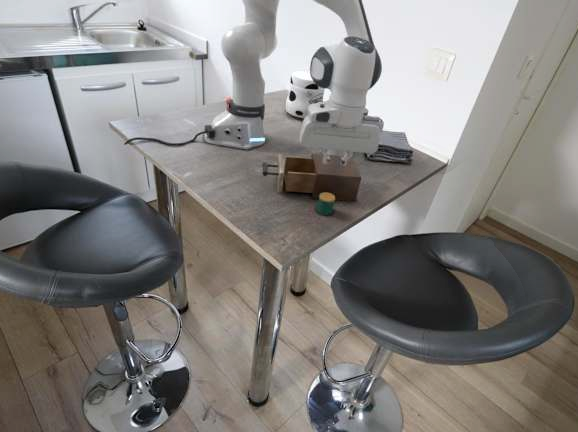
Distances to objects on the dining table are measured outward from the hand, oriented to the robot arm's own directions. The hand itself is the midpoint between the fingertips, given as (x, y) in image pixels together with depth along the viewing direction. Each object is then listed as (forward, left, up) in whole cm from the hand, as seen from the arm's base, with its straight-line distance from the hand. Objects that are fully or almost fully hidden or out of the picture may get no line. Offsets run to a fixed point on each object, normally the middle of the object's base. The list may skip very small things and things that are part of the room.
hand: (334, 164), depth 92 cm
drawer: (-10, +13, -14) cm, 22 cm away
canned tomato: (+22, +61, -15) cm, 67 cm away
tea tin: (0, 0, -15) cm, 15 cm away
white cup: (+8, +29, -15) cm, 34 cm away
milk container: (+1, +77, -15) cm, 78 cm away
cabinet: (+4, +13, -15) cm, 20 cm away
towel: (+31, +42, -15) cm, 54 cm away
